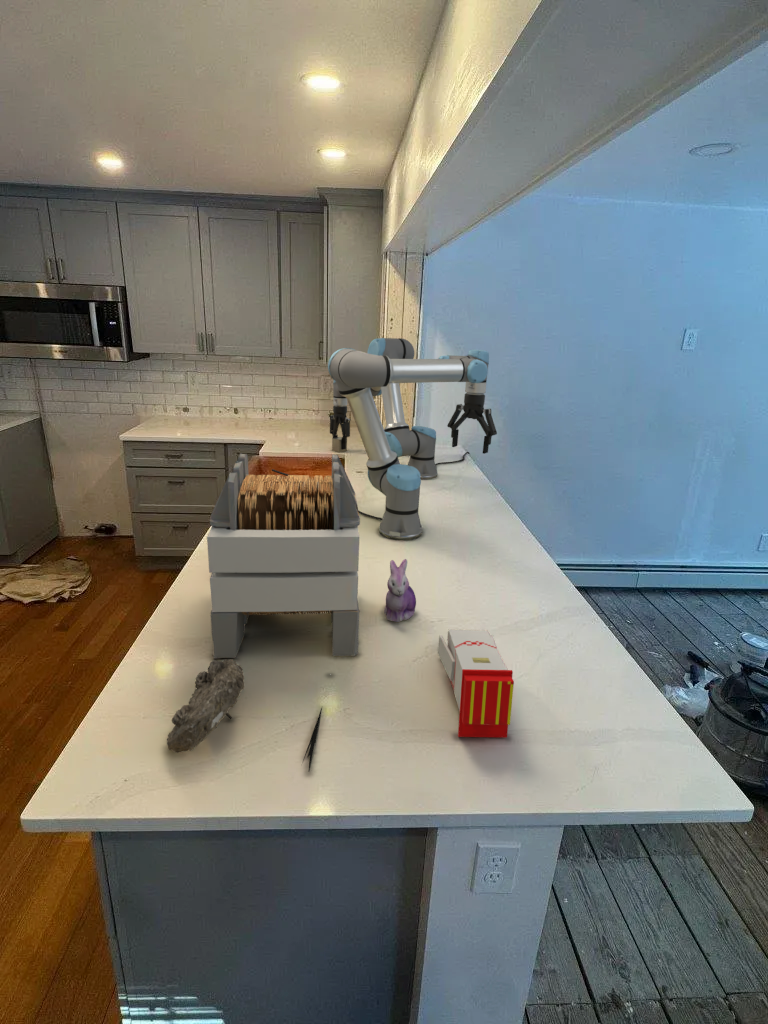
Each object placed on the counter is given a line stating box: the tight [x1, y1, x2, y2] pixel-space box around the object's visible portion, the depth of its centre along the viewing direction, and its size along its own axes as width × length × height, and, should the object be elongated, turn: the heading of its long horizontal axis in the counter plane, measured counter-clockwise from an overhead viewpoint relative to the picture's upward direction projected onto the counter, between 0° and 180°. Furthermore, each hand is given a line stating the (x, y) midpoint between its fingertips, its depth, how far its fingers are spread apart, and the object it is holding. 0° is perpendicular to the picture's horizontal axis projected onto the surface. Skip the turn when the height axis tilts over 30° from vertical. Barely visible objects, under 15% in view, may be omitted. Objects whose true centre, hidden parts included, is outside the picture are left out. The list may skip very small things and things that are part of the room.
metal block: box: [331, 436, 348, 453], centre depth 310 cm, size 6×6×7 cm
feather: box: [301, 673, 332, 771], centre depth 108 cm, size 2×28×2 cm
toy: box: [437, 628, 515, 738], centre depth 117 cm, size 12×13×30 cm
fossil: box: [166, 658, 245, 754], centre depth 106 cm, size 22×10×15 cm
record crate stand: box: [206, 452, 361, 660], centre depth 135 cm, size 34×33×41 cm
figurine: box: [384, 558, 417, 623], centre depth 145 cm, size 9×10×15 cm
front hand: (469, 449), depth 216 cm, fingers open, 13 cm apart
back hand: (339, 448), depth 310 cm, fingers closed on metal block, 5 cm apart
